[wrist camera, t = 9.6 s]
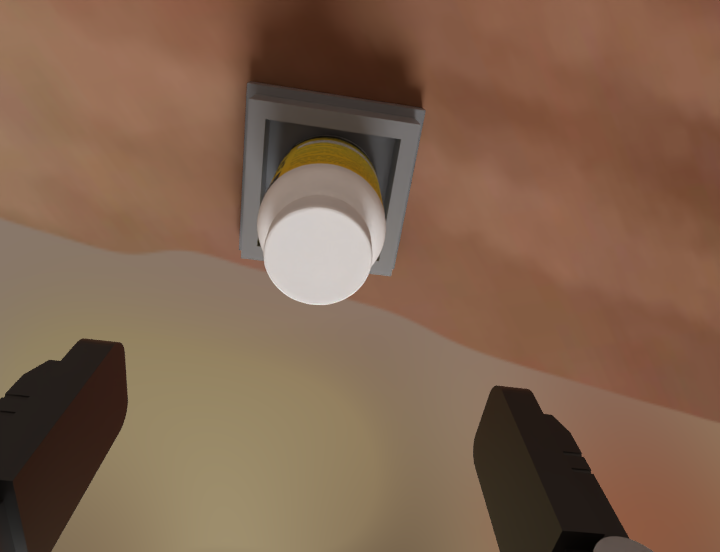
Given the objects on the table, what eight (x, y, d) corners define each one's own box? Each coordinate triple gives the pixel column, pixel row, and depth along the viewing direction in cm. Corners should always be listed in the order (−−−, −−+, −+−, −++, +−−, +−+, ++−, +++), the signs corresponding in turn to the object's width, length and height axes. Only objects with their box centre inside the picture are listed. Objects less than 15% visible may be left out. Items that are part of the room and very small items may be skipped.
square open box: (422, 108, 26) (431, 116, 23) (392, 261, 30) (397, 284, 27) (250, 81, 25) (239, 86, 22) (242, 243, 29) (232, 264, 26)
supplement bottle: (275, 130, 25) (240, 180, 16) (380, 135, 26) (401, 188, 17) (276, 229, 28) (247, 319, 19) (373, 233, 28) (388, 324, 19)
